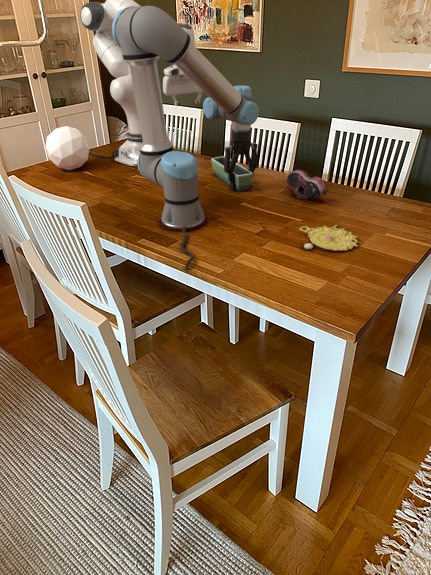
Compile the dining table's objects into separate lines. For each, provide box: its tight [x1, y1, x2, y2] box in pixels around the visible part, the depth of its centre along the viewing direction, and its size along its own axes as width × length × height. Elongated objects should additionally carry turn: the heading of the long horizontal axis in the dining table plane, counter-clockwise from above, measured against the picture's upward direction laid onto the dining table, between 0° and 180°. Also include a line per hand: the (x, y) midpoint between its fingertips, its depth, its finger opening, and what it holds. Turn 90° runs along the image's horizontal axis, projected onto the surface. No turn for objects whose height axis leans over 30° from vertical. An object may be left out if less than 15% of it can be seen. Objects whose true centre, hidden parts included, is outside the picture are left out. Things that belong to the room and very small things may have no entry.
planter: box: [210, 155, 254, 192], centre depth 188 cm, size 28×7×7 cm, turn 24°
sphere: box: [44, 125, 90, 171], centre depth 207 cm, size 19×20×20 cm
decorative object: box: [299, 224, 359, 252], centre depth 141 cm, size 21×2×20 cm
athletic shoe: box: [284, 169, 328, 201], centre depth 172 cm, size 11×22×12 cm
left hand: (187, 104), depth 190 cm, fingers open, 8 cm apart
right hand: (241, 187), depth 183 cm, fingers closed on planter, 7 cm apart
